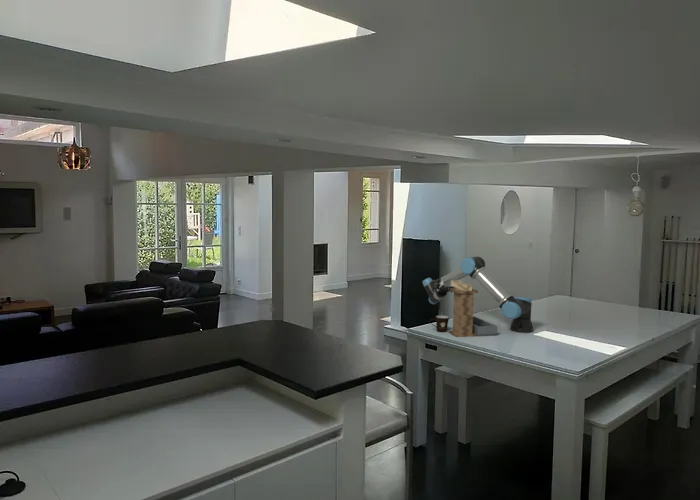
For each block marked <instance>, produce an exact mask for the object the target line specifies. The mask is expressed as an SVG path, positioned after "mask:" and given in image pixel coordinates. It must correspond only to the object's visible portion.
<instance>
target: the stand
mask: <svg viewBox="0 0 700 500" xmlns="http://www.w3.org/2000/svg"><path fill="white" fill-rule="evenodd" d="M450 291H452V292H451V293H453V306H452V307H453V310H452V311H453V313H452V330H448V334H449V335H452V336H454V337H455V338H467V337H477V336H476V333H473V332H472V326H473V316H474V294H478V293H479V290H477V289H474V288H472V291H464V290H461V289H458V288H450ZM450 291H449V292H450Z"/></svg>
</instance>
